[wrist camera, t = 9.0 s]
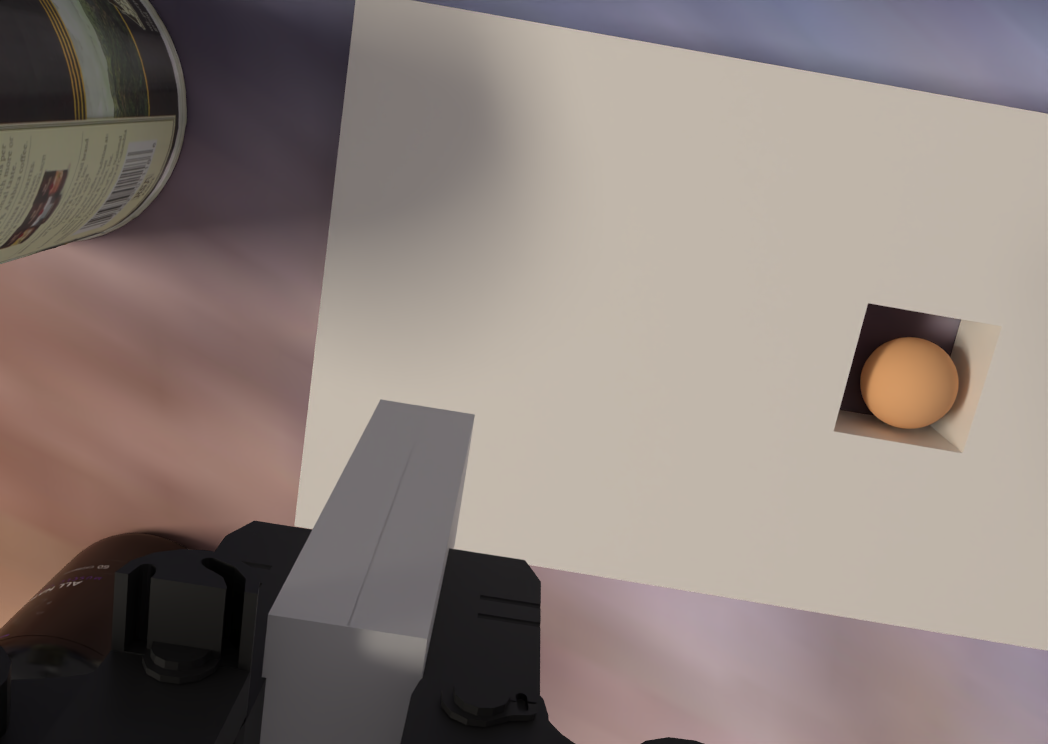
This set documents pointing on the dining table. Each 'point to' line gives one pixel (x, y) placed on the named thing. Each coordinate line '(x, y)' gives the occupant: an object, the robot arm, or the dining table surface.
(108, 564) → the supplement bottle
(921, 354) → the ball
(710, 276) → the hole board
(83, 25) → the coffee can
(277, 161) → the dining table surface
